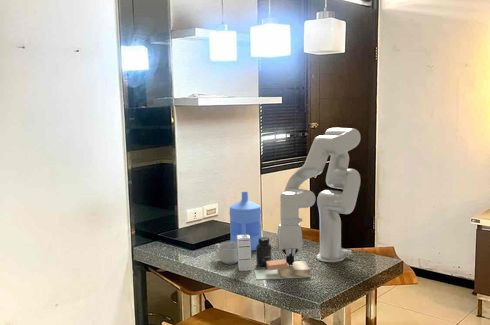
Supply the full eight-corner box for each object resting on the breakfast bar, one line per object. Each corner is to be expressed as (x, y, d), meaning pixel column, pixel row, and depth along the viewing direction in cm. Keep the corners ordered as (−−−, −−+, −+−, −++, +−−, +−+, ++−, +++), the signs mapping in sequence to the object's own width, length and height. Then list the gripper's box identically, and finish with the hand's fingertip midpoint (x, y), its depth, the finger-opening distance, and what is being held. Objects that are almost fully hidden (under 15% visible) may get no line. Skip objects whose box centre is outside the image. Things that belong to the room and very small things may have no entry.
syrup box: (252, 270, 213) (251, 237, 211) (238, 271, 213) (237, 238, 211) (250, 266, 219) (250, 234, 217) (237, 266, 218) (236, 234, 217)
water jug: (233, 242, 256) (231, 189, 253) (263, 243, 254) (262, 189, 251) (228, 251, 241) (226, 195, 238) (260, 252, 239) (258, 195, 236)
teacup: (246, 261, 225) (246, 244, 224) (230, 267, 218) (229, 250, 217) (225, 255, 235) (224, 239, 234) (208, 261, 227) (208, 244, 226)
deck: (305, 267, 214) (304, 260, 214) (310, 276, 203) (310, 269, 203) (277, 268, 213) (277, 262, 213) (281, 277, 202) (281, 270, 202)
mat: (305, 268, 214) (305, 267, 214) (310, 277, 203) (310, 276, 203) (254, 270, 213) (254, 270, 212) (256, 279, 202) (256, 279, 202)
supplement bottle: (267, 268, 216) (266, 241, 214) (253, 265, 219) (253, 239, 218) (274, 263, 221) (274, 237, 220) (261, 261, 225) (260, 235, 224)
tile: (284, 263, 210) (284, 259, 210) (287, 268, 204) (287, 263, 204) (266, 265, 209) (266, 261, 209) (268, 270, 203) (268, 265, 203)
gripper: (305, 218, 210) (305, 260, 212) (270, 220, 209) (271, 262, 211) (309, 222, 202) (309, 266, 204) (273, 224, 201) (273, 268, 203)
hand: (290, 264), depth 207 cm, fingers closed
